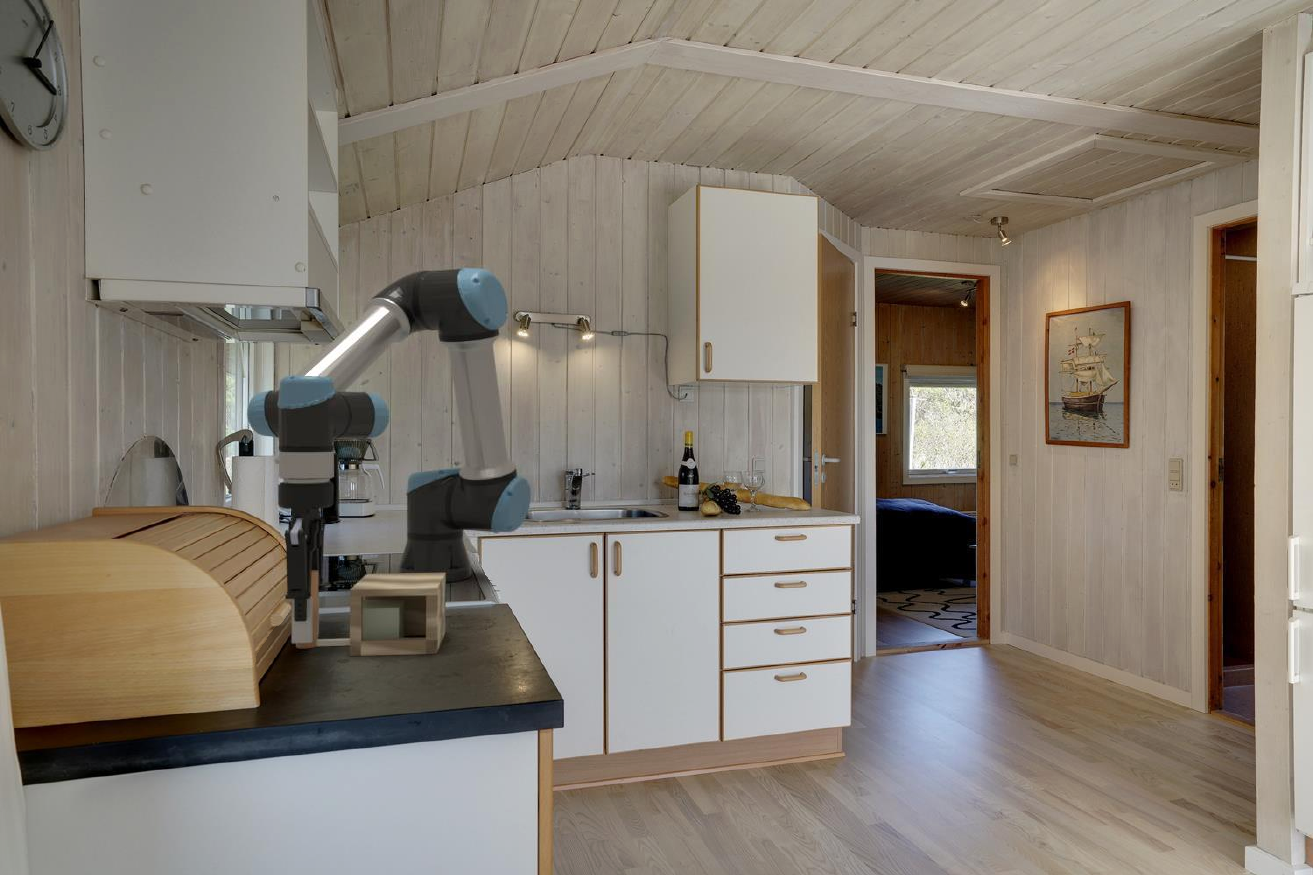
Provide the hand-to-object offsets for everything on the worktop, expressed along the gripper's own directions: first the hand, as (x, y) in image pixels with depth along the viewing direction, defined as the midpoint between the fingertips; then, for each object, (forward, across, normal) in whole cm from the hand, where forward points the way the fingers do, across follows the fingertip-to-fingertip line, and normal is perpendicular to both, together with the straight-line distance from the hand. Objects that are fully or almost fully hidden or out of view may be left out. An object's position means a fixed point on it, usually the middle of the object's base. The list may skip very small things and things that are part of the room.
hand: (305, 638), depth 122 cm
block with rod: (+1, 0, +6) cm, 6 cm away
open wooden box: (+1, 0, +14) cm, 14 cm away
